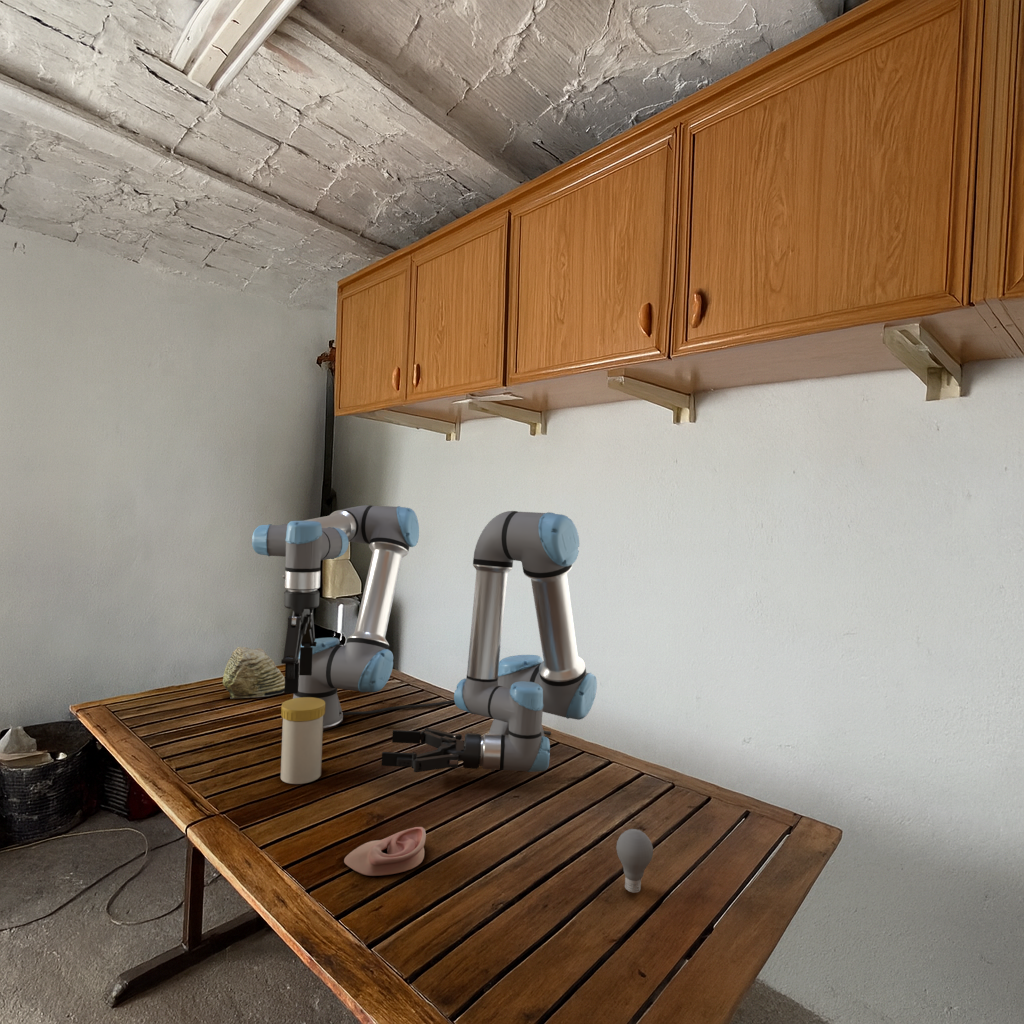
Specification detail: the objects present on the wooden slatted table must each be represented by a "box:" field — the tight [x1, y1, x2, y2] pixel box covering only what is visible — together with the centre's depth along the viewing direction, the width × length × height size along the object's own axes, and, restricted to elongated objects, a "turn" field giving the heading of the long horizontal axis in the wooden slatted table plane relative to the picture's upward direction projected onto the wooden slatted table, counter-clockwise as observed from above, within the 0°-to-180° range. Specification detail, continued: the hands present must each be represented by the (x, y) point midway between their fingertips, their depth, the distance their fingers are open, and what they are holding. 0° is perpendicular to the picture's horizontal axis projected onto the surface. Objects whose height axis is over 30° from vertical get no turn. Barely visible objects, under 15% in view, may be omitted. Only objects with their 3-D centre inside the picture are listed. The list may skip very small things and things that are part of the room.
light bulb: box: [615, 828, 654, 894], centre depth 106 cm, size 6×6×10 cm
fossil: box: [222, 646, 285, 699], centre depth 198 cm, size 9×18×15 cm, turn 132°
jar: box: [279, 716, 324, 785], centre depth 143 cm, size 9×9×16 cm
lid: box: [280, 697, 325, 721], centre depth 143 cm, size 9×9×2 cm
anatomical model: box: [343, 826, 427, 877], centre depth 112 cm, size 13×4×12 cm
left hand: (298, 683), depth 143 cm, fingers open, 13 cm apart
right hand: (387, 746), depth 143 cm, fingers open, 13 cm apart
